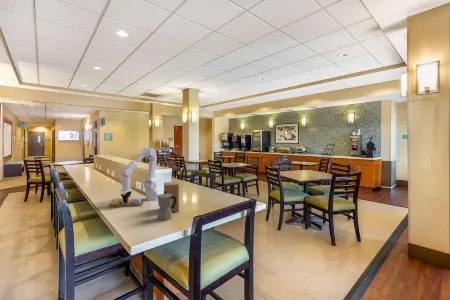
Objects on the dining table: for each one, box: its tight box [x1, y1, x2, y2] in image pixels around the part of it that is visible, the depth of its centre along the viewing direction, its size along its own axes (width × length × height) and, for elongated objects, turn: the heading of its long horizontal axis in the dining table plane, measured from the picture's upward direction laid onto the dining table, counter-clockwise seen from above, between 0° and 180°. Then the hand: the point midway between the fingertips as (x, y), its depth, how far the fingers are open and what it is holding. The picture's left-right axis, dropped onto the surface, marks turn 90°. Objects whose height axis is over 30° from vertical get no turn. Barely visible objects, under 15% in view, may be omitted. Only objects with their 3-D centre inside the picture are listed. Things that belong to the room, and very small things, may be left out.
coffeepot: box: [156, 190, 177, 222], centre depth 145 cm, size 15×9×18 cm, turn 69°
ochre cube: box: [111, 197, 122, 205], centre depth 170 cm, size 5×5×5 cm
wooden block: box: [163, 181, 180, 214], centre depth 161 cm, size 10×10×20 cm
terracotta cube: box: [121, 196, 132, 204], centre depth 171 cm, size 5×5×5 cm
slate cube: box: [131, 197, 142, 204], centre depth 173 cm, size 5×5×5 cm
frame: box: [108, 200, 144, 209], centre depth 172 cm, size 23×8×3 cm, turn 98°
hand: (126, 201), depth 172 cm, fingers closed on terracotta cube, 5 cm apart
